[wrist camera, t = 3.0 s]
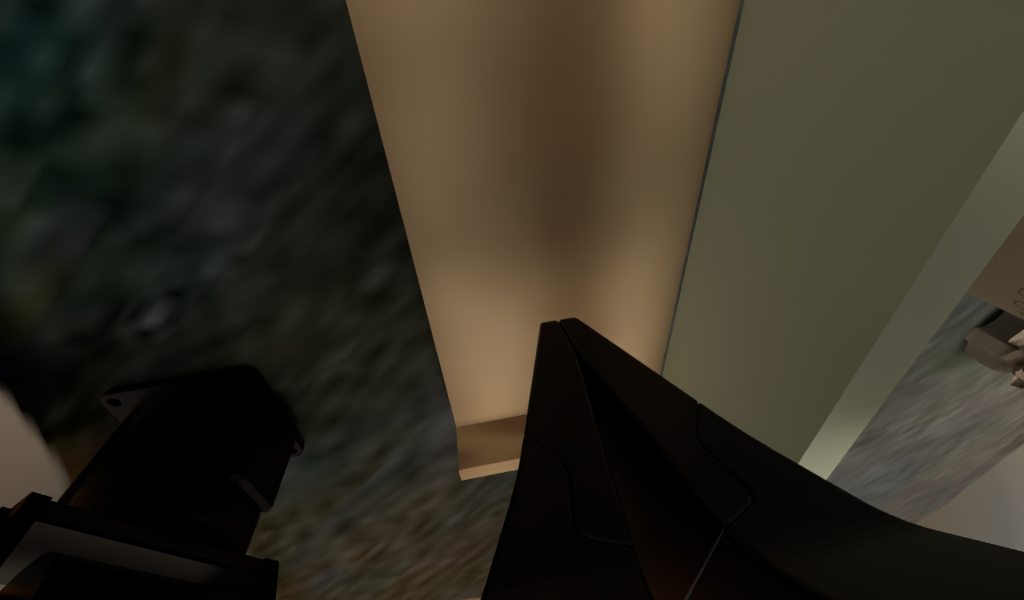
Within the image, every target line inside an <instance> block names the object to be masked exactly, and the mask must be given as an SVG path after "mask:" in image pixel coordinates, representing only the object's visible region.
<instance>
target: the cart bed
mask: <svg viewBox="0 0 1024 600" xmlns="http://www.w3.org/2000/svg"><path fill="white" fill-rule="evenodd" d="M346 3H347V7H348V11H349V14H350V18H351V22H352V26H353V30H354V34H355V38H356V41H357V45H358V49H359V53H360V57H361V61H362V65H363V68H364V72H365V76H366V80H367V84H368V88H369V92H370V95H371V99H372V103H373V107H374V111H375V115H376V119H377V122H378V126H379V130H380V134H381V138H382V142H383V146H384V149H385V153H386V157H387V161H388V165H389V169H390V173H391V176H392V180H393V184H394V188H395V192H396V196H397V200H398V203H399V207H400V211H401V215H402V219H403V223H404V227H405V230H406V234H407V238H408V242H409V246H410V250H411V254H412V257H413V261H414V265H415V269H416V273H417V277H418V281H419V284H420V288H421V292H422V296H423V300H424V304H425V308H426V311H427V315H428V319H429V323H430V327H431V331H432V335H433V338H434V342H435V346H436V350H437V354H438V358H439V362H440V365H441V369H442V373H443V377H444V381H445V385H446V389H447V392H448V396H449V400H450V404H451V408H452V412H453V416H454V420H455V423H456V427H457V447H458V466H459V473H460V477H461V480H466V479H471V478H476V477H481V476H486V475H491V474H497V473H502V472H507V471H512V470H517V469H518V466H519V461H520V456H521V449H522V442H523V437H524V430H525V423H526V417H527V410H528V403H529V396H530V389H531V383H532V376H533V369H534V362H535V355H536V349H537V342H538V335H539V328H540V324H541V323H542V322H548V321H554V320H556V321H558V322H559V320H561V319H566V318H572V317H575V318H578V319H579V320H581V321H582V322H584V323H585V324H587V325H588V326H589V327H591V328H592V329H594V330H595V331H597V332H598V333H600V334H601V335H603V336H604V337H605V338H607V339H608V340H610V341H611V342H613V343H614V344H616V345H617V346H619V347H620V348H621V349H623V350H624V351H626V352H627V353H629V354H630V355H632V356H633V357H635V358H636V359H637V360H639V361H640V362H642V363H643V364H645V365H646V366H648V367H649V368H651V369H652V370H653V371H655V372H656V373H658V374H659V375H660V373H661V368H662V364H663V359H664V354H665V350H666V345H667V340H668V336H669V331H670V326H671V322H672V317H673V312H674V308H675V303H676V298H677V294H678V289H679V284H680V280H681V275H682V270H683V266H684V261H685V256H686V252H687V247H688V242H689V238H690V233H691V228H692V224H693V219H694V214H695V210H696V205H697V200H698V196H699V191H700V186H701V182H702V177H703V172H704V168H705V163H706V158H707V154H708V149H709V144H710V140H711V135H712V130H713V126H714V121H715V116H716V112H717V107H718V102H719V98H720V93H721V88H722V84H723V79H724V74H725V70H726V65H727V60H728V56H729V51H730V46H731V42H732V37H733V32H734V28H735V23H736V18H737V14H738V9H739V4H740V0H346Z"/></svg>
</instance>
